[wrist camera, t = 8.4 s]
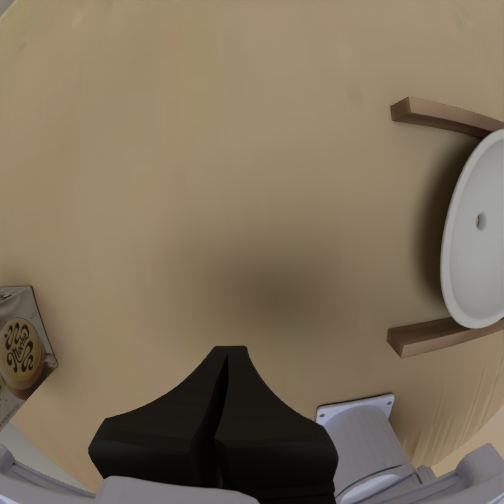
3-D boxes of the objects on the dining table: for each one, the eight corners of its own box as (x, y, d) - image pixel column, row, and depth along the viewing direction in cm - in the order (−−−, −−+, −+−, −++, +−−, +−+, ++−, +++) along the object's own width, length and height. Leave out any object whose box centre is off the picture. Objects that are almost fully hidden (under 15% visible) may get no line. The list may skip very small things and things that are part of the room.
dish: (472, 101, 18) (506, 91, 13) (532, 208, 20) (562, 214, 15) (371, 239, 21) (402, 254, 16) (452, 335, 23) (481, 358, 18)
